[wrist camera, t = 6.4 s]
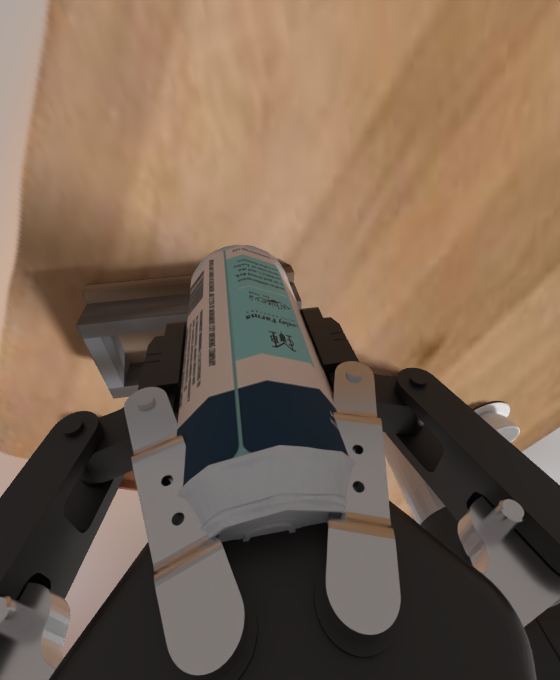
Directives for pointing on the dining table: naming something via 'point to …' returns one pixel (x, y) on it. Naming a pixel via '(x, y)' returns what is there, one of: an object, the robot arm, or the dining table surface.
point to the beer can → (255, 404)
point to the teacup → (499, 419)
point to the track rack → (134, 323)
